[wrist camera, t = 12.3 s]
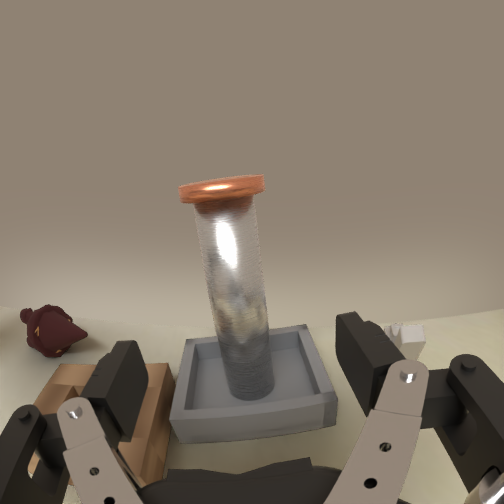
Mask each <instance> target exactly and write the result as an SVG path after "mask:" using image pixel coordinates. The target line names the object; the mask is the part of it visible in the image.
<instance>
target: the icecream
mask: <svg viewBox="0 0 504 504" xmlns="http://www.w3.org/2000/svg"><path fill="white" fill-rule="evenodd" d="M20 318H21V320H22V322H23V323H25V324H27V336H28V337H27V344H28V345H29V346H30V347H33V348H35V349H36V350H38V351H39V352H41V353H42V354H43V355H44V356H45V357H61V356H62V354H63V353H64V352H65V351H66V350H68V349H69V348H70V346H71V344H73V343H75V342H77V341H79V340H81V339H83V338H85V337H87V336H88V334H87V332H85V331H84V330H82V329H81V328H79V327H78V326H76V325H75V324H74V323H72V318H71V317H70V316H69V315H68V314H66V313H65V312H64V310H63V309H62V308H60V307H58V306H51V305H49V304H48V305H45V306H44V307H42V308H40V309H38V310H35V311H34V312H33V311H32V309H31V308H29V309H27V308H26V309H23V310H22V311H21V312H20Z"/></svg>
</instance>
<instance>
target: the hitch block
mask: <svg viewBox="0 0 504 504" xmlns="http://www.w3.org/2000/svg"><path fill="white" fill-rule="evenodd" d="M145 365H146V368H147V371H148V376H149V383H148V387H147V390H146V393H145V396H144V400H143V403H142V406H141V409H140V413H139V416H138V419H137V423H136V426H135V429H134V433H133V436H132V440H131V443H130V442H119V445H118V448H119V450H120V451H121V453H122V455H123V456H124V458H125V460H126V461H127V463H128V465H129V466H130V468H131V470H132V471H133V473H134V474H135V476H136V477H137V479H138V481H139V482H140V483H141V485H142V486H143V487H144V486H146V485H148V484H150V483H153V482H155V481H158V480H162V477H163V471H164V465H165V459H166V453H167V447H168V441H169V436H170V430H171V423H170V421H169V418H170V413H171V408H172V403H173V398H174V393H175V388H176V385H175V382H174V379H173V376H172V373H171V370H170V367H169V364H168V363H156V364H145ZM95 367H96V365H78V364H60V365H59V367H58V368H57V370H56V371H55V373H54V374H53V375H52V377H51V378H50V380H49V381H48V383H47V384H46V386H45V387H44V389H43V390H42V392H41V393H40V395H39V396H38V398H37V399H36V401H35V402H34V404H33V405H35V406H36V407H37V408H38V409H39V410H40V412H41V414H42V415H45V414H52V413H57V411H58V409H59V407H60V406H61V405H62V404H63V403H64V402H65V401H67V400H69V399H72V398H76V397H79V396H80V394H81V392H82V391H83V389H84V387H85V385H86V383H87V381H88V380H89V378H90V377H91V374H92V372H93V371H94V370H95ZM38 461H39V458H38V457H37V456H36V454H35V453H33V456H32V458H31V460H30V463H29V465H28V471H29V472H30V473H32V474H34V471H35V469H36V466H37V464H38ZM68 484H69V485H73V486H74V484H73V481H72V479H71V476H70V479H69V482H68Z"/></svg>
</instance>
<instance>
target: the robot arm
mask: <svg viewBox="0 0 504 504" xmlns="http://www.w3.org/2000/svg"><path fill="white" fill-rule="evenodd" d="M335 347H336V356H337V359H338V362H339V364H340V366H341V368H342V370H343V372H344V374H345V376H346V378H347V380H348V382H349V384H350V386H351V388H352V390H353V392H354V394H355V396H356V398H357V400H358V402H359V404H360V406H361V408H362V410H363V412H364V414H365V416H366V417H368V418H367V420H366V423H365V425H364V427H363V429H362V432H361V434H360V436H359V438H358V440H357V442H356V445H355V447H354V449H353V451H352V453H351V455H350V457H349V459H348V461H347V463H346V465H345V467H344V469H343V471H342V470H339V469H335V468H330V467H323V466H312V464H311V460H310V457H308V458H302V459H297V460H291V461H285V462H279V463H273V464H270V465H268V466H265V467H262V468H258V469H255V470H252V471H249V472H246V473H242V474H228V473H221V472H214V471H208V470H203V469H188V470H183V469H168V474H167V479H162V480H158V481H155V482H153V483H150V484H148V485H146V486H144V487H143V486H142V485H141V483H140V482H139V481H138V479H137V477H136V476H135V474H134V473H133V471H132V470H131V468H130V466H129V465H128V463H127V461H126V460H125V458H124V456H123V455H122V453H121V451H120V450H119V448H118V445H119V442H130V443H131V440H132V436H133V433H134V429H135V426H136V423H137V419H138V416H139V413H140V409H141V406H142V403H143V400H144V396H145V393H146V390H147V387H148V383H149V376H148V371H147V368H146V365H145V363H144V360H143V357H142V355H141V352H140V349H139V346H138V344H137V342H136V341H135V340H129V341H117V342H116V344H115V346H114V347H113V349H112V351H111V353H107V354H106V355H105V356H104V357H103V358H102V359H100V360H99V362H98V364H97V365H96V367H95V370H94V371H93V372H92V374H91V377H90V378H89V380H88V381H87V383H86V385H85V387H84V389H83V391H82V392H81V394H80V396H79V397H76V398H72V399H69V400H67V401H65V402H64V403H63V404H62V405H61V406H60V407H59V409H58V411H57V413H52V414H45V415H42V414H41V412H40V410H39V409H38V408H37V407H36V406H35V405H24V406H22V407H20V408H18V409H17V410H16V411H15V412H14V413H13V414H12V416H11V418H10V419H9V421H8V423H7V425H6V426H5V428H4V430H3V432H2V433H1V435H0V504H62V503H63V499H64V496H65V492H66V489H67V485H68V482H69V479H70V476H71V479H72V481H73V484H74V486H75V489H76V491H77V494H78V496H79V498H80V501H81V503H82V504H410V503H408V502H406V501H403V500H401V499H399V495H400V492H401V489H402V487H403V484H404V481H405V478H406V475H407V472H408V469H409V466H410V463H411V459H412V456H413V452H414V449H415V445H416V442H417V438H418V434H419V430H420V429H426V428H434V429H435V431H436V433H437V435H438V437H439V438H440V440H441V442H442V444H443V445H444V447H445V449H446V451H447V453H448V455H449V456H450V458H451V460H452V462H453V464H454V466H455V468H456V470H457V471H458V473H459V475H460V477H461V479H462V481H463V483H464V485H465V487H466V489H467V491H468V493H469V495H468V496H467V498H466V500H465V502H464V504H504V383H503V382H502V381H501V380H500V379H499V378H498V377H497V375H496V374H495V373H494V372H493V371H492V370H491V369H490V368H489V367H488V366H487V365H486V364H485V363H484V361H483V360H481V359H480V358H479V357H477V356H474V355H470V354H462V355H458V356H456V357H455V358H453V359H452V361H451V363H450V366H449V368H448V369H438V370H428V369H427V367H426V366H425V365H424V364H423V363H421V362H419V361H416V360H410V359H406V358H405V357H404V355H403V354H402V353H401V352H400V350H399V349H398V348H397V347H396V346H395V344H394V343H393V342H392V341H390V338H389V337H388V336H387V335H385V332H384V331H383V330H382V329H381V327H380V326H378V325H377V324H375V323H373V322H370V321H366V322H364V321H363V320H362V319H361V318H360V316H359V315H358V314H357V313H356V312H355V311H354V312H349V313H344V314H339V315H337V316H336V346H335ZM33 453H35V454H36V456H37V457H38V458H39V461H38V464H37V466H36V469H35V471H34V474H33V476H32V479H31V478H30V476H29V474H28V465H29V463H30V460H31V458H32V456H33Z"/></svg>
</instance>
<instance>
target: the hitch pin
mask: <svg viewBox="0 0 504 504" xmlns="http://www.w3.org/2000/svg"><path fill="white" fill-rule="evenodd" d="M178 189H179V196H180V201H181V203H193V206H194V213H195V219H196V225H197V231H198V238H199V244H200V249H201V255H202V260H203V266H204V271H205V277H206V283H207V288H208V293H209V299H210V304H211V309H212V314H213V319H214V323H215V329H216V334H217V339H218V343H219V348H220V353H221V357H222V362H223V366H224V371H225V375H226V380H227V384H228V388H229V392H230V393H231V395H232V396H234V397H235V398H237V399H240V400H244V401H254V400H259V399H262V398H264V397H266V396H267V395H269V394H270V393H271V392H272V390H273V389H274V386H275V381H274V372H273V362H272V353H271V344H270V335H269V326H268V317H267V308H266V299H265V290H264V281H263V272H262V264H261V255H260V247H259V238H258V229H257V221H256V212H255V204H254V194H257V193H261V192H263V191H265V184H264V175H262V174H257V175H244V176H233V177H225V178H218V179H212V180H206V181H200V182H195V183H190V184H185V185H182V186H179V187H178Z"/></svg>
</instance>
